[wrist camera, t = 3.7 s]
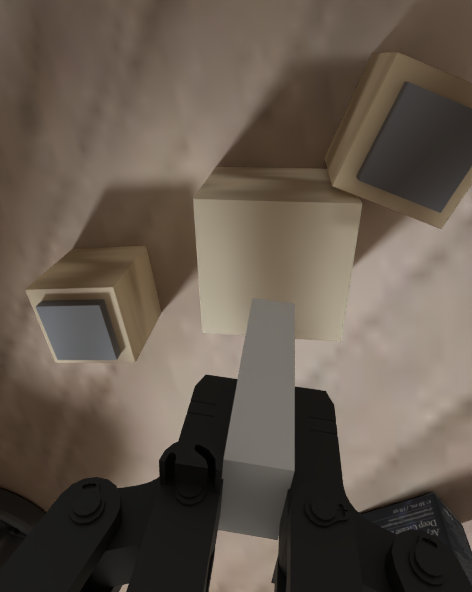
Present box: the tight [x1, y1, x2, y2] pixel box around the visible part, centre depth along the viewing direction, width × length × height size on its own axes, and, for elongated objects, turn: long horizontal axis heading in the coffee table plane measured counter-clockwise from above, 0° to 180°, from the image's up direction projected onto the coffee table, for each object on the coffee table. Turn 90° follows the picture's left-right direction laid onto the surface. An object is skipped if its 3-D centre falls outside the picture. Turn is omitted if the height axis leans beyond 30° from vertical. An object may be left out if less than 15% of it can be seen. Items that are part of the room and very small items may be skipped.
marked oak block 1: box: [324, 52, 472, 229], centre depth 17 cm, size 5×5×6 cm
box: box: [361, 492, 472, 585], centre depth 31 cm, size 8×6×11 cm
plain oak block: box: [193, 167, 362, 342], centre depth 21 cm, size 7×7×6 cm
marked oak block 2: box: [25, 246, 161, 363], centre depth 24 cm, size 5×5×6 cm
